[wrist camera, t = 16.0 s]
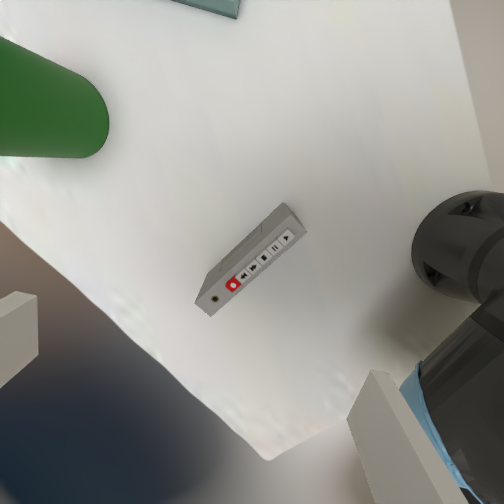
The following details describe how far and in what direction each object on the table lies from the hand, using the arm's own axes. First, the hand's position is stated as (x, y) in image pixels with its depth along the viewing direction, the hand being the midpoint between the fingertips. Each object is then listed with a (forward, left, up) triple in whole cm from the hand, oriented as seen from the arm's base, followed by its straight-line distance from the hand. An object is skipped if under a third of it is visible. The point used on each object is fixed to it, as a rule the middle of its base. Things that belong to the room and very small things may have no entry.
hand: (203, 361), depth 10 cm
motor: (+24, -7, -29) cm, 38 cm away
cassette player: (-2, +4, -29) cm, 29 cm away
